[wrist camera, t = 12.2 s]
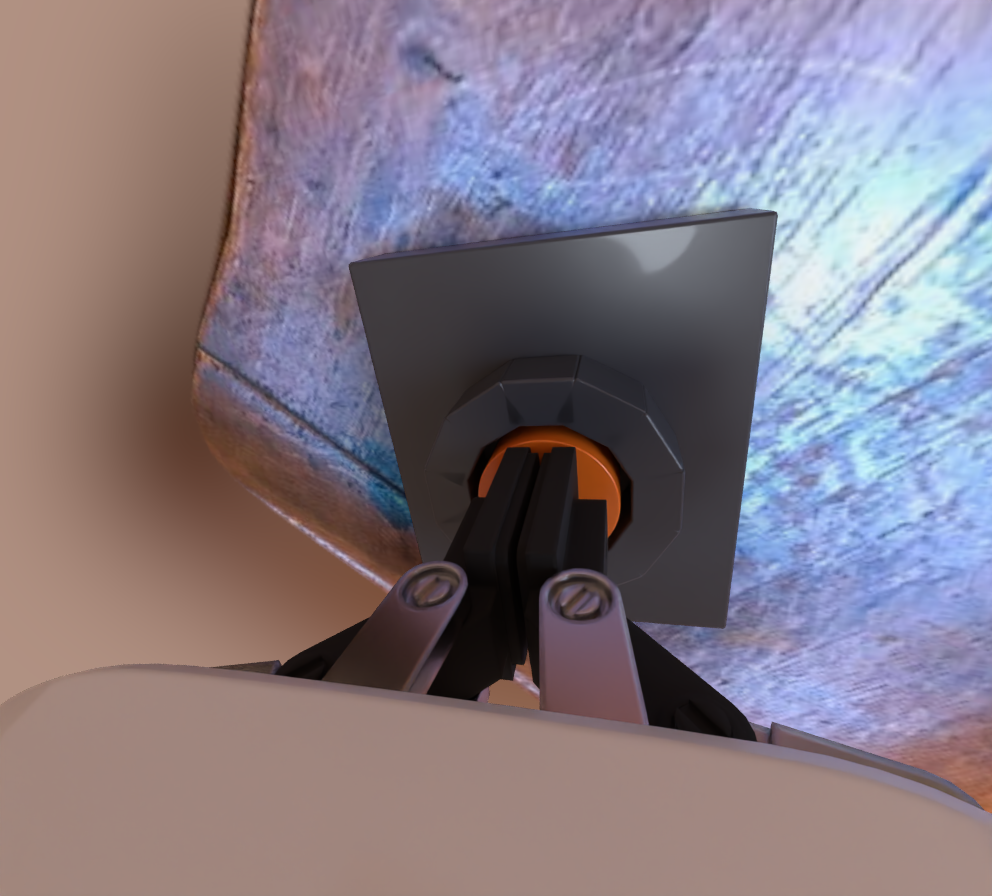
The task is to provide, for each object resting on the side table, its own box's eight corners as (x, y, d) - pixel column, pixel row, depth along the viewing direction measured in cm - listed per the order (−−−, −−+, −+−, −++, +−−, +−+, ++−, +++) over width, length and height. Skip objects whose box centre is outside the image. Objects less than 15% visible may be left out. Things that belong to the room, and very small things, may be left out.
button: (621, 523, 14) (621, 563, 12) (500, 519, 15) (487, 556, 13) (619, 408, 12) (620, 439, 11) (485, 412, 13) (467, 441, 12)
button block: (714, 581, 17) (738, 680, 13) (450, 565, 19) (414, 645, 16) (753, 207, 12) (810, 213, 8) (382, 253, 14) (306, 273, 11)
